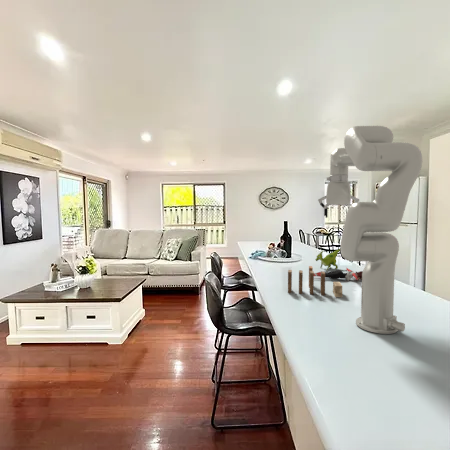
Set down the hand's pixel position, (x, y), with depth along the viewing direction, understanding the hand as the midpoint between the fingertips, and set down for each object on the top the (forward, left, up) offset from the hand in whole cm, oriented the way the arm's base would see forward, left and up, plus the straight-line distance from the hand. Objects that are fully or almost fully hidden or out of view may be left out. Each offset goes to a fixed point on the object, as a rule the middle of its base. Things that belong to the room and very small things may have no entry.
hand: (337, 217), depth 132 cm
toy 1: (+42, -45, -36) cm, 71 cm away
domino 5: (+5, +4, -36) cm, 36 cm away
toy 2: (+19, -26, -36) cm, 48 cm away
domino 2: (+12, +11, -36) cm, 39 cm away
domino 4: (+8, +7, -36) cm, 37 cm away
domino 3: (+17, -1, -36) cm, 39 cm away
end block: (0, -1, -36) cm, 36 cm away
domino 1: (+15, +14, -36) cm, 41 cm away
